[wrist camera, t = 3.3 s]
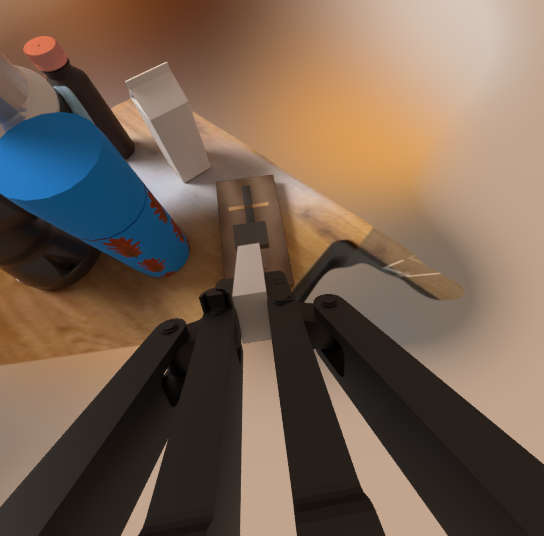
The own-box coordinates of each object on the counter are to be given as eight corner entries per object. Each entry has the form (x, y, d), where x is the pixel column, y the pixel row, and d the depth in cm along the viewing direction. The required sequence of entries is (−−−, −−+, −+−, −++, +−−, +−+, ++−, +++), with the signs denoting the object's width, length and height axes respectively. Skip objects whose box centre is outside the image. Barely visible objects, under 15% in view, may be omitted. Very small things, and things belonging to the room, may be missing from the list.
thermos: (196, 268, 45) (110, 182, 21) (140, 286, 44) (-18, 217, 20) (183, 220, 48) (96, 99, 24) (131, 236, 47) (-15, 125, 23)
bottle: (141, 148, 55) (71, 42, 36) (118, 166, 53) (32, 65, 34) (123, 135, 56) (46, 26, 37) (100, 152, 55) (7, 47, 36)
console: (228, 297, 43) (225, 293, 40) (218, 190, 51) (215, 181, 48) (292, 287, 43) (294, 283, 41) (273, 182, 51) (273, 174, 49)
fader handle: (244, 272, 41) (235, 248, 31) (242, 254, 42) (232, 225, 32) (270, 268, 41) (268, 243, 31) (267, 250, 42) (265, 220, 33)
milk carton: (211, 167, 53) (178, 73, 35) (184, 183, 51) (136, 94, 33) (195, 148, 55) (155, 50, 37) (168, 164, 53) (114, 69, 35)
